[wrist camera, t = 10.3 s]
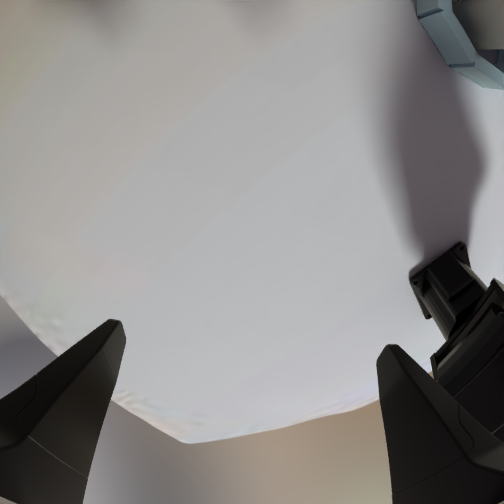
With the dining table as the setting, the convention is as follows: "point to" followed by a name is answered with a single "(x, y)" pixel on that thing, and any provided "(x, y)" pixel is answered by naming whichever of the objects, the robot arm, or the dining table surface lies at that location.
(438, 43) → the collar
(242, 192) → the dining table surface
